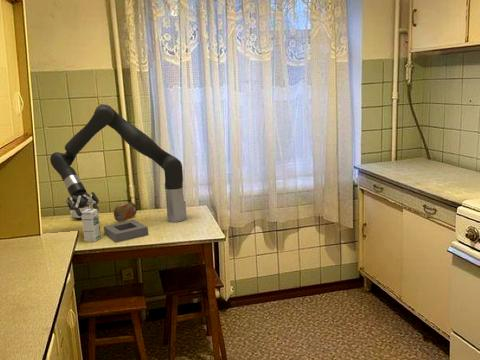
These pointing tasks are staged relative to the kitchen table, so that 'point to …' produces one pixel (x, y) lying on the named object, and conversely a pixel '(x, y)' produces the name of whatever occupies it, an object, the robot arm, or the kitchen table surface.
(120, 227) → the gray square frame
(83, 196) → the robot arm
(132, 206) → the brown lumpy slab
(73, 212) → the spread jar
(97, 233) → the syrup box
